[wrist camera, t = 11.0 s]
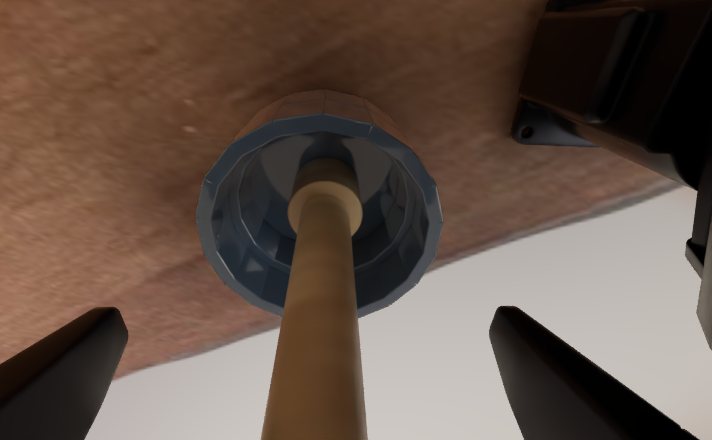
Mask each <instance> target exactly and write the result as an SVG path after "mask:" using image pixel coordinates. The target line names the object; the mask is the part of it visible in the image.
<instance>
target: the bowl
mask: <svg viewBox="0 0 712 440" xmlns="http://www.w3.org/2000/svg"><path fill="white" fill-rule="evenodd" d="M318 158H334V159H337V160H340V161H342V162H344V163H345V164H347V165H348V166H349V167H350V168H351V169H352V170H353V172H354V173H355V175H356V177H357V180H358V185H359V191H360V198H361V204H362V211H363V216H362V221H361V224H360V226H359V228H358V230H357V231H356V232H355V233H354V235H353V236H351V240H352V252H353V265H354V277H355V289H356V302H357V314H358V318H361V317H363V316H365V315H368V314H370V313H373V312H375V311H378V310H380V309H383V308H385V307H388V306H389V305H391V304H392V303H394V302H395V301H397V300H398V299H399V298H400V297H402V296H403V295H404V294H405V293H407V292H408V291H409V290H410V289H412V288H413V287H414V286H416V284H418V282H419V281H420V279H421V278H422V276H423V275H424V273H425V272H426V270H427V269H428V267H429V266H430V264H431V263H432V261H433V260H434V258H435V257H436V254H437V249H438V244H439V240H440V235H441V231H442V226H443V215H442V210H441V205H440V199H439V194H438V189H437V185H436V182H435V181H434V179H433V178H432V176H431V175H430V173H429V172H428V170H427V169H426V167H425V165H424V164H423V162H422V161H421V159H420V158H419V156H418V155H417V153H416V151H415V150H414V148H413V147H412V145H411V144H410V142H409V141H408V139H407V138H406V136H405V135H404V133H403V132H402V131H401V129H400V128H399V126H398V125H397V123H396V122H395V120H394V119H392V117H391V116H390V115H388V114H387V113H385V112H384V111H382V110H381V109H379V108H378V107H376V106H375V105H373V104H372V103H371V102H369V101H368V100H366V99H365V98H361V97H359V96H355V95H350V94H346V93H342V92H338V91H333V90H326V89H321V90H313V91H306V92H299V93H292V94H290V95H286V96H284V97H283V98H281V99H279V100H277V101H275V102H274V103H272V104H270V105H268V106H267V107H265V108H263V109H261V110H260V111H258V112H257V113H256V114H255V115H254V116H253V117H252V119H251V120H250V121H249V122H248V123H247V124H246V125H245V127H244V128H243V129H242V130H241V131H240V132H239V133H238V134H237V135H236V137H235V138H234V139H233V140H232V141H231V142H230V143H229V144H228V146H227V147H226V148H225V150H224V151H223V152H222V154H221V155H220V156H219V158H218V159H217V160H216V162H215V163H214V164H213V165H212V167H211V168H210V169H209V171H208V172H207V173H206V175H205V176H204V179H203V181H202V186H201V190H200V195H199V200H198V204H197V209H196V214H195V216H196V217H195V219H196V224H197V228H198V233H199V237H200V242H201V246H202V251H203V253H204V256H205V257H206V259H207V260H208V261H209V263H210V264H211V266H212V267H213V269H214V270H215V272H216V273H217V275H218V276H219V278H220V279H221V281H222V282H223V283H224V284H225V285H226V286H227V287H229V288H230V289H231V290H233V291H234V292H235V293H236V294H238V295H239V296H240V297H242V298H243V299H244V300H246V301H247V302H248V303H250V304H251V305H253V306H254V307H257V308H260V309H262V310H265V311H267V312H270V313H272V314H275V315H278V316H280V317H283V311H284V305H285V300H286V294H287V288H288V283H289V277H290V272H291V266H292V260H293V255H294V249H295V243H296V238H297V234H296V233H295V232H294V230H293V229H292V227H291V225H290V223H289V220H288V214H287V211H288V204H289V201H290V197H291V193H292V189H293V185H294V181H295V178H296V175H297V173H298V172H299V170H300V169H301V168H302V167H303V166H304V165H305V164H306V163H308V162H310V161H312V160H314V159H318Z"/></svg>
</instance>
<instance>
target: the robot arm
mask: <svg viewBox="0 0 712 440" xmlns="http://www.w3.org/2000/svg"><path fill="white" fill-rule="evenodd" d="M519 93H520V95H521V97H520V101H519V104H518V108H517V111H516V115H515V118H514V121H513V125H512V128H511V136H512V138H513V139H514V140H515V141H517V142H518V143H520V144H526V145H553V146H579V147H602V148H604V149H606V150H609V151H611V152H613V153H615V154H617V155H620V156H622V157H624V158H626V159H628V160H630V161H633V162H635V163H637V164H639V165H641V166H644V167H646V168H648V169H650V170H652V171H655V172H657V173H659V174H661V175H663V176H666V177H668V178H670V179H672V180H674V181H677V182H679V183H681V184H683V185H685V186H688V187H690V188H692V189H694V190H696V191H698V193H697V200H696V209H695V217H694V224H693V232H692V238H690V239H688V240H687V242H686V251H685V256H686V258H687V260H688V261H689V262H690V264H691V265H692V267H693V268H694V270H695V271H696V272H697V273H698V275H699V277H700V278H701V279H702V281H701V287H700V293H699V300H698V306H697V316H698V318H699V321H700V323H701V326H702V329H703V331H704V334H705V337H706V339H707V342H708V344H709V347H710V349H711V350H712V0H549V1H548V4H547V8H546V11H545V15H544V16H543V17H542V18H541V19H540V20H539V22H538V25H537V29H536V32H535V36H534V39H533V43H532V46H531V50H530V53H529V57H528V60H527V64H526V67H525V71H524V74H523V78H522V81H521V85H520V88H519ZM525 127H529V130H528V132H527V133H526V134H525V135H523V136H521V132H522V130H523V129H524V128H525ZM489 337H490V341H491V344H492V348H493V351H494V354H495V358H496V361H497V364H498V368H499V371H500V375H501V378H502V381H503V385H504V388H505V391H506V394H507V397H508V400H509V403H510V405H511V408H512V411H513V413H514V416H515V418H516V420H517V423H518V425H519V428H520V430H521V433H522V435H523V438H524V440H699V439H698V438H696V437H695V436H694V435H692V434H691V433H690V432H688V431H687V430H685V429H681V427H680V425H678V424H677V423H676V422H674V421H673V420H672V419H670V418H669V417H667V416H666V415H665V414H663V413H662V412H661V411H659V410H658V409H656V408H655V407H654V406H652V405H651V404H650V403H648V402H647V401H645V400H644V399H643V398H641V397H640V396H638V395H637V394H636V393H634V392H633V391H632V390H630V389H629V388H628V387H626V386H625V385H623V384H622V383H621V382H619V381H618V380H617V379H615V378H614V377H612V376H611V375H610V374H608V373H607V372H606V371H604V370H603V369H602V368H600V367H599V366H597V365H596V364H595V363H593V362H592V361H591V360H589V359H588V358H586V357H585V356H583V355H582V354H581V353H580V352H578V351H577V350H575V349H574V348H573V347H571V346H570V345H569V344H567V343H566V342H564V341H563V340H562V339H560V338H559V337H558V336H556V335H555V334H553V333H552V332H550V331H549V330H548V329H547V328H545V327H544V326H542V325H541V324H540V323H538V322H537V321H536V320H534V319H533V318H531V317H530V316H529V315H527V314H526V313H525V312H523V311H522V310H520V309H519V308H517V307H515V306H500V307H498V308H497V310H496V312H495V315H494V318H493V320H492V323H491V326H490V330H489ZM127 341H128V330H127V328H126V325H125V323H124V321H123V318H122V316H121V313H120V311H119V310H118V309H117V308H115V307H96V308H94V309H92V310H90V311H88V312H87V313H85V314H83V315H82V316H80V317H78V318H77V319H75V320H73V321H72V322H70V323H68V324H67V325H65V326H63V327H62V328H60V329H58V330H57V331H55V332H53V333H52V334H50V335H48V336H47V337H45V338H43V339H42V340H40V341H38V342H37V343H35V344H33V345H32V346H30V347H28V348H27V349H25V350H23V351H22V352H20V353H18V354H17V355H15V356H13V357H12V358H10V359H8V360H7V361H5V362H3V363H2V364H0V440H84V439H85V437H86V435H87V433H88V431H89V429H90V428H91V425H92V424H93V422H94V420H95V418H96V416H97V414H98V412H99V410H100V408H101V405H102V403H103V401H104V398H105V396H106V393H107V391H108V388H109V386H110V384H111V381H112V379H113V376H114V374H115V371H116V369H117V366H118V364H119V361H120V359H121V356H122V354H123V351H124V349H125V346H126V344H127Z"/></svg>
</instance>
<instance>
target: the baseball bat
mask: <svg viewBox="0 0 712 440" xmlns="http://www.w3.org/2000/svg"><path fill="white" fill-rule="evenodd" d="M287 214H288V220H289V223H290V225H291V227H292V229H293V230H294V232H295V233H296V234H297V238H296V243H295V249H294V255H293V260H292V266H291V272H290V277H289V283H288V288H287V294H286V300H285V305H284V311H283V317H282V322H281V328H280V334H279V339H278V345H277V350H276V356H275V362H274V368H273V373H272V379H271V384H270V390H269V396H268V401H267V407H266V412H265V418H264V424H263V430H262V435H261V440H368V438H367V425H366V413H365V401H364V388H363V376H362V364H361V351H360V340H359V327H358V314H357V302H356V289H355V277H354V265H353V252H352V240H351V236H353V235H354V233H355V232H356V231H357V230H358V228H359V226H360V224H361V221H362V216H363V211H362V204H361V198H360V191H359V185H358V180H357V177H356V175H355V173H354V172H353V170H352V169H351V168H350V167H349V166H348V165H347V164H345V163H344V162H342V161H340V160H337V159H334V158H318V159H314V160H312V161H310V162H308V163H306V164H305V165H304V166H303V167H302V168H301V169H300V170H299V172H298V173H297V175H296V178H295V181H294V185H293V189H292V193H291V197H290V201H289V204H288V211H287Z"/></svg>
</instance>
